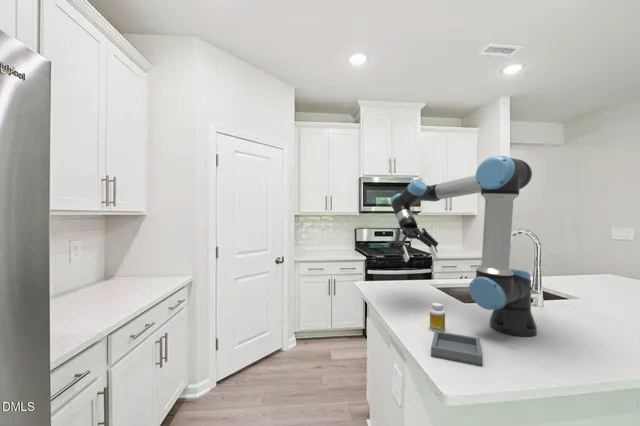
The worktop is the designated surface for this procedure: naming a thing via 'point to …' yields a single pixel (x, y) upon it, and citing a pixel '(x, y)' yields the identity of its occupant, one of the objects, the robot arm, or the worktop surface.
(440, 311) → the supplement bottle
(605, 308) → the worktop surface
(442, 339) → the tray
